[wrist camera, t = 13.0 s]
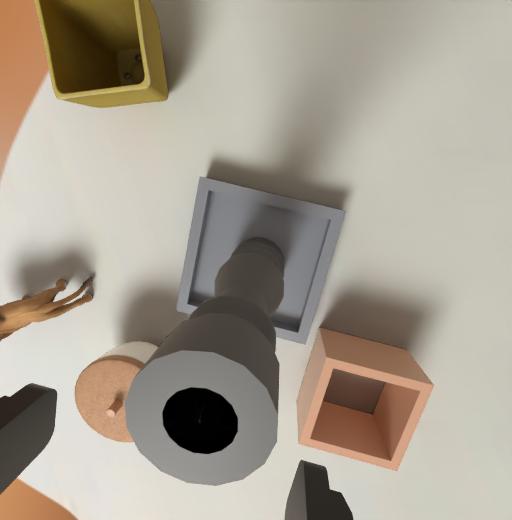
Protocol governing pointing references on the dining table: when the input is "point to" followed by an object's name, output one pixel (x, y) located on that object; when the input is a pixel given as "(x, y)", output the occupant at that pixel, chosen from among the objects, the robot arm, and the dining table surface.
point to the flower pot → (103, 51)
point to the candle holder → (215, 377)
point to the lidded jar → (110, 388)
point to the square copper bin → (353, 421)
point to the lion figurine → (38, 308)
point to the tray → (261, 226)
